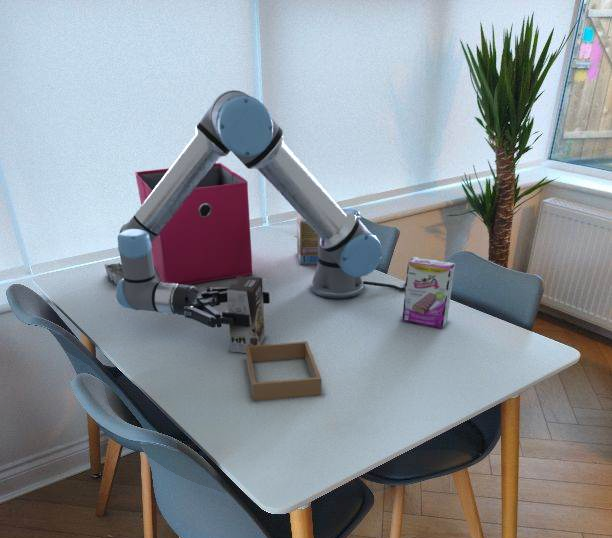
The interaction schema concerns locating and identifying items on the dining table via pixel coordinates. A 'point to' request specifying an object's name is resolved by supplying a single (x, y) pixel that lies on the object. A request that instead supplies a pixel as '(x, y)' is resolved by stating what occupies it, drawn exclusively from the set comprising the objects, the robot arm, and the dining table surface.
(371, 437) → the dining table surface
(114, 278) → the egg carton
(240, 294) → the coffee box
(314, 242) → the milk carton
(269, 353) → the wooden box
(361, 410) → the dining table surface
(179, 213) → the storage bin
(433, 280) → the candy bar box
